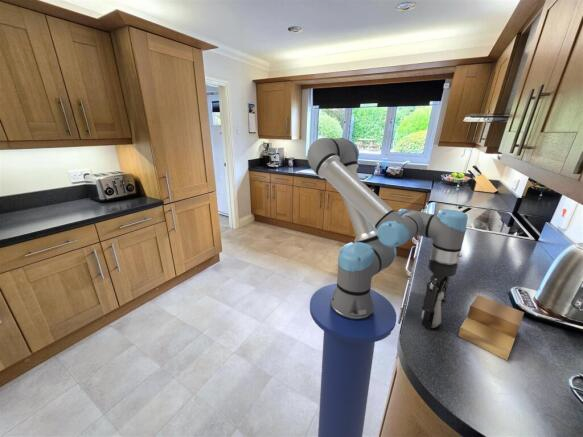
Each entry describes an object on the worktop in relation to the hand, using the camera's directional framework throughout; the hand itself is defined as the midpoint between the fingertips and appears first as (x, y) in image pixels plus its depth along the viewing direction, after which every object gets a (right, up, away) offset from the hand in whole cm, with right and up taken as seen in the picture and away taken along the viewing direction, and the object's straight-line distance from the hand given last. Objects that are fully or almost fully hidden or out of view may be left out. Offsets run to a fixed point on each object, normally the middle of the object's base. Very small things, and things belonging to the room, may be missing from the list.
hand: (430, 321), depth 82 cm
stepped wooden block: (+16, -2, -4) cm, 17 cm away
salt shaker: (0, -1, 0) cm, 1 cm away
